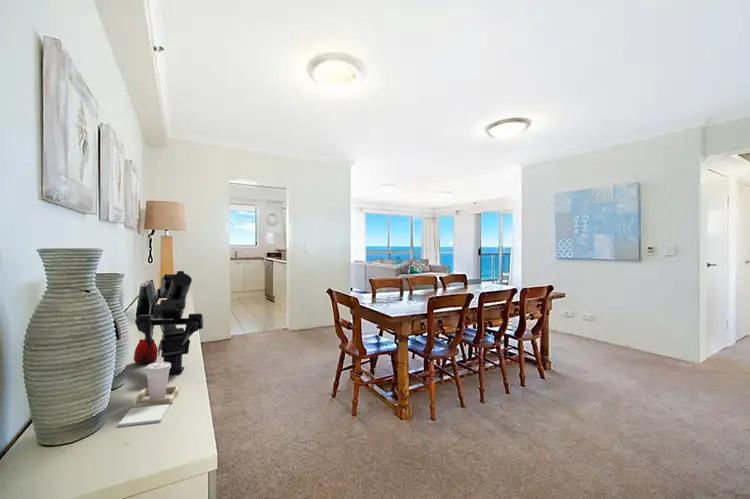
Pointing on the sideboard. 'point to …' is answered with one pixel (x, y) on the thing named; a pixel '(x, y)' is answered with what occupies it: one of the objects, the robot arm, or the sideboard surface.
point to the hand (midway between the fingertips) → (165, 345)
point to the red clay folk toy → (145, 352)
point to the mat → (144, 415)
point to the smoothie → (158, 378)
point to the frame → (152, 402)
